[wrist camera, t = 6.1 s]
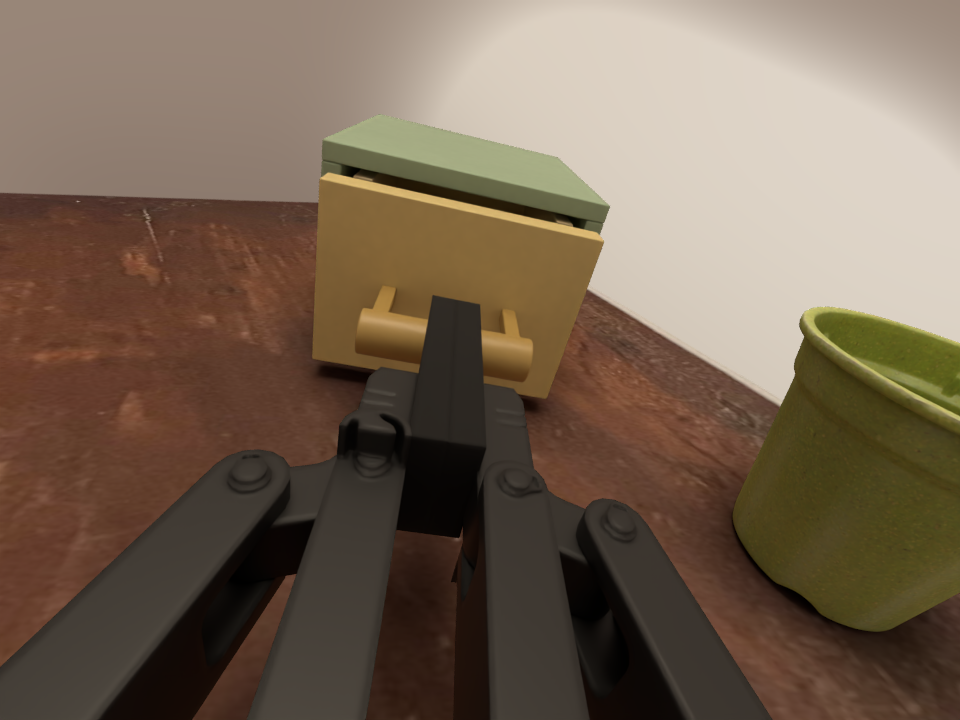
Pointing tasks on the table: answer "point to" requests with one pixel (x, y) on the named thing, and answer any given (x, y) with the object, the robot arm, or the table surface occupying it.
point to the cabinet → (464, 167)
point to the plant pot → (861, 473)
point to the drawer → (445, 276)
